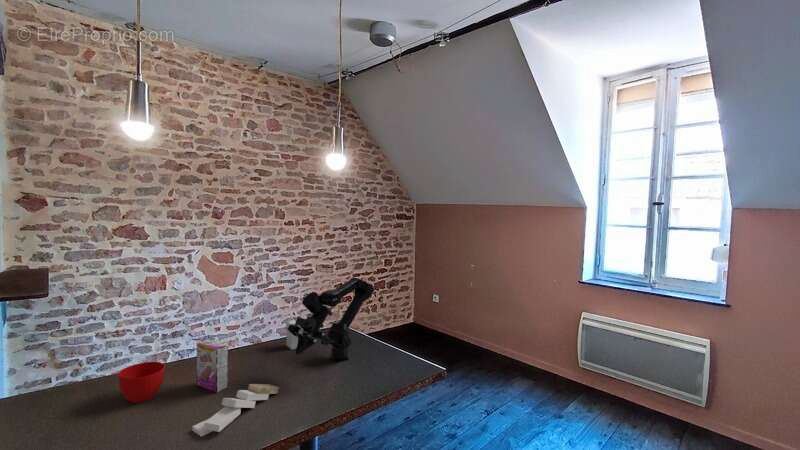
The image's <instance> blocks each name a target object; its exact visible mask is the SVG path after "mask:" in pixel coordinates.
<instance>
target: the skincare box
mask: <svg viewBox="0 0 800 450" xmlns="http://www.w3.org/2000/svg"><path fill="white" fill-rule="evenodd" d="M295 323H296V320H294V319H293V320H291V319H290V320H287V321H286V322H285V325H286V326H285V327H286V328H285V329H286V330H285V331H286V337H285V338H286V347H288V348H289V349H290V350H296V348H297V344H298V337H296V336H294V335H293V334H292V333H291V332H290V331H288V330H287V329H288V327H289V325H291V324H294V325H295ZM297 326H299V325H297ZM299 327H300V326H299Z"/></svg>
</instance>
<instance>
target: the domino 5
mask: <svg viewBox="0 0 800 450" xmlns="http://www.w3.org/2000/svg"><path fill="white" fill-rule="evenodd" d="M247 387H248V388H247V390H248V391H251V392H254V393H257V394H269V395H270V394H271V395H272V394H273V395H275V394H278V393H279V390H280V387H278V386H276V385H272V384H268V383H265V384H264V383H249V384H248V386H247Z"/></svg>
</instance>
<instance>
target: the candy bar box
mask: <svg viewBox="0 0 800 450" xmlns="http://www.w3.org/2000/svg"><path fill="white" fill-rule="evenodd" d="M228 355H229V345H228V344H225V343H222V342H219V341H215V340H212V339H208V338H207V339H204V340H201V341H199V342H197V343H196V386H198V387H200V388H203V389H206V390H208V391H211V392H214V393H216V394H218V393H220V392H221V391H223V390H226V389H227V388H228V387H229V386H228V385H229V384H228V383H229V380H228V375H229V373H228V372H229V369H228V367H229V356H228Z"/></svg>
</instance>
